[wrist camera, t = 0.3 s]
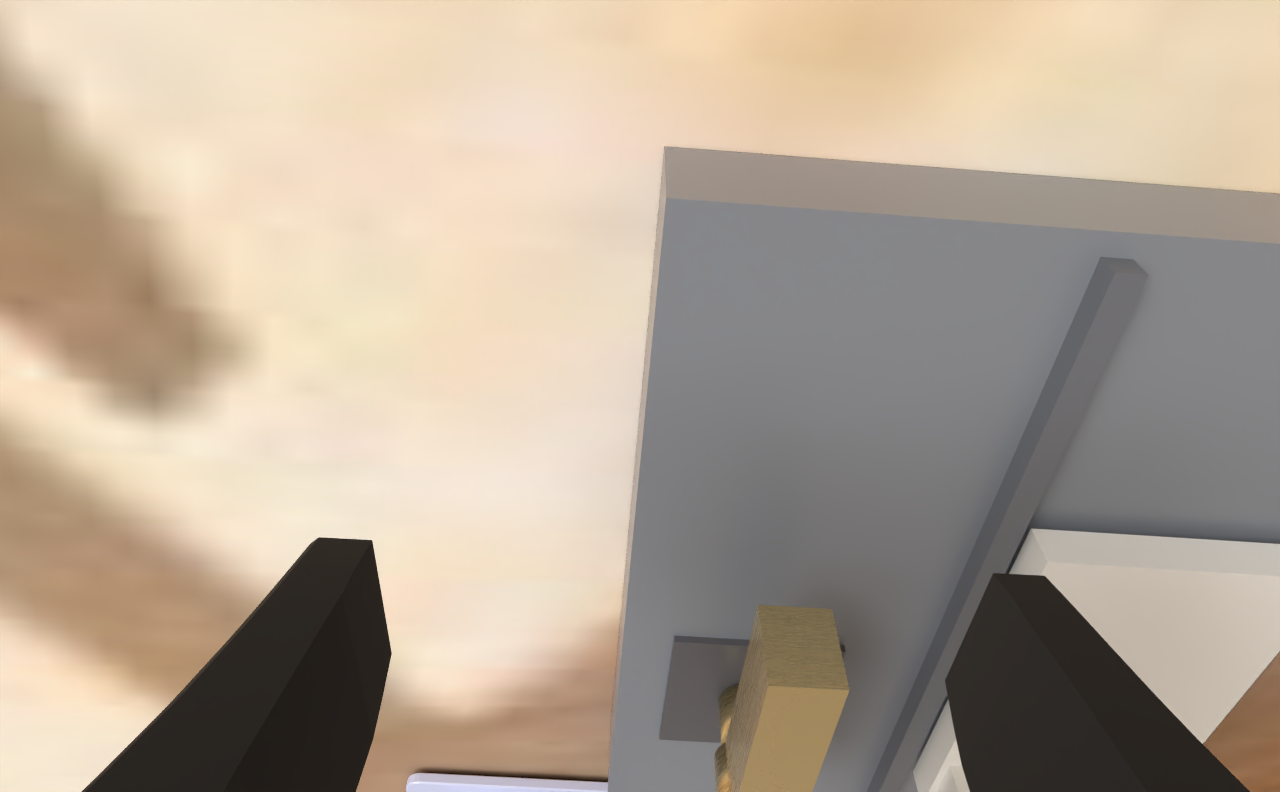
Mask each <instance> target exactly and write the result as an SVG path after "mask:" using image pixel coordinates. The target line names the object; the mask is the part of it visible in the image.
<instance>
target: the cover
mask: <svg viewBox="0 0 1280 792" xmlns="http://www.w3.org/2000/svg"><path fill="white" fill-rule="evenodd" d="M1009 574H1022V575H1041V576H1045V577H1046V578H1047V579H1048V580H1049V581H1050V582H1051V583H1052V584H1053V585H1054V586H1055V587H1056V588H1057V589H1058V590H1059V591H1060V592H1061V593H1062V594H1063V595H1064V596H1065V597H1066V599H1067V600H1068V601H1069V602H1070V603H1071V604H1072V605H1073V606H1074V607H1075V608H1076V609H1077V610H1078V612H1079V613H1080V614H1081V615H1082V616H1083V617H1084V618H1085V619H1086V620H1087V621H1088V622H1089V623H1090V625H1091V626H1092V627H1093V628H1094V629H1095V630H1096V631H1097V632H1098V633H1099V634H1100V635H1101V637H1102V638H1103V639H1104V640H1105V641H1106V642H1107V643H1108V644H1109V645H1110V646H1111V647H1112V649H1113V650H1114V651H1115V652H1116V653H1117V654H1118V655H1119V656H1120V657H1121V658H1122V659H1123V660H1124V662H1125V663H1126V664H1127V665H1128V666H1129V667H1130V668H1131V669H1132V670H1133V671H1134V672H1135V673H1136V675H1137V676H1138V677H1139V678H1140V679H1141V680H1142V681H1143V682H1144V683H1145V684H1146V685H1147V686H1148V687H1149V689H1150V690H1151V691H1152V692H1153V693H1154V694H1155V695H1156V696H1157V697H1158V698H1159V699H1160V700H1161V701H1162V702H1163V703H1164V704H1165V706H1166V707H1167V708H1168V709H1169V710H1170V711H1171V712H1172V713H1173V714H1174V715H1175V716H1176V717H1177V718H1178V719H1179V720H1180V721H1181V722H1182V723H1183V724H1184V725H1185V726H1186V728H1187V729H1188V730H1189V731H1190V732H1191V733H1192V734H1193V735H1194V736H1195V737H1196V738H1197V739H1198V740H1199V741H1200V742H1201V743H1202V744H1203V743H1204V742H1205V741H1206V740H1207V738H1208V737H1209V736H1210V735H1211V734H1212V732H1213V731H1214V730H1215V729H1216V727H1217V726H1218V725H1219V724H1220V723H1221V721H1222V720H1223V719H1224V718H1225V717H1226V715H1227V714H1228V713H1229V712H1230V711H1231V709H1232V708H1233V707H1234V706H1235V705H1236V703H1237V702H1238V701H1239V700H1240V698H1241V697H1242V696H1243V695H1244V694H1245V692H1246V691H1247V690H1248V689H1249V688H1250V686H1251V685H1252V684H1253V683H1254V682H1255V680H1256V679H1257V678H1258V677H1259V676H1260V674H1261V673H1262V672H1263V671H1264V669H1265V668H1266V667H1267V666H1268V665H1269V663H1270V662H1271V661H1272V660H1273V659H1274V657H1275V656H1276V655H1277V654H1278V653H1279V651H1280V544H1272V543H1256V542H1240V541H1224V540H1208V539H1192V538H1176V537H1160V536H1144V535H1128V534H1112V533H1096V532H1080V531H1064V530H1048V529H1032V528H1031V529H1030V532H1029V534H1028V536H1027V538H1026V540H1025V542H1024V544H1023V546H1022V548H1021V550H1020V552H1019V554H1018V556H1017V558H1016V560H1015V562H1014V564H1013V567H1012V569H1011V571H1010V573H1009ZM913 775H914V779H915V782H916V786H917V790H918V792H970V790H969V787H968V784H967V781H966V778H965V774H964V771H963V768H962V764H961V759H960V755H959V750H958V745H957V741H956V736H955V732H954V727H953V721H952V716H951V711H950V705H949V700H947V702H946V705H945V707H944V709H943V711H942V713H941V715H940V717H939V719H938V721H937V723H936V725H935V727H934V729H933V731H932V733H931V735H930V737H929V740H928V742H927V744H926V746H925V748H924V750H923V752H922V754H921V756H920V758H919V760H918V762H917V764H916V766H915V768H914V770H913Z"/></svg>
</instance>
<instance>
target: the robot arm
mask: <svg viewBox="0 0 1280 792" xmlns="http://www.w3.org/2000/svg"><path fill="white" fill-rule="evenodd" d="M390 658H391V648H390V642H389V636H388V630H387V624H386V619H385V613H384V607H383V601H382V595H381V589H380V584H379V578H378V572H377V566H376V560H375V554H374V549H373V543H372V540H357V539H338V538H317V539H316V540H315V541H314V542H312V543H311V544H310V545H309V546H308V547H307V549H306V550H305V551H304V552H303V553H302V555H301V556H300V557H299V558H298V559H297V561H296V562H295V563H294V564H293V565H292V567H291V568H290V569H289V570H288V571H287V573H286V574H285V575H284V576H283V577H282V578H281V580H280V581H279V582H278V583H277V584H276V586H275V587H274V588H273V589H272V590H271V592H270V593H269V594H268V595H267V596H266V597H265V599H264V600H263V601H262V602H261V603H260V604H259V606H258V607H257V608H256V609H255V610H254V611H253V612H252V614H251V615H250V616H249V617H248V618H247V619H246V620H245V622H244V623H243V624H242V625H241V626H240V627H239V628H238V630H237V631H236V632H235V633H234V634H233V635H232V636H231V638H230V639H229V640H228V641H227V642H226V643H225V644H224V645H223V646H222V648H221V649H220V650H219V651H218V652H217V653H216V654H215V655H214V656H213V657H212V658H211V659H210V661H209V662H208V663H207V664H206V665H205V666H204V667H203V668H202V669H201V670H200V671H199V673H198V674H197V675H196V676H195V677H194V678H193V679H192V680H191V681H190V682H189V683H188V685H187V686H186V687H185V688H184V689H183V690H182V691H181V692H180V693H179V694H178V695H177V697H176V698H175V699H174V700H173V701H172V702H171V703H170V704H169V705H168V706H167V707H166V708H165V709H164V710H163V711H162V712H161V713H160V714H159V715H158V716H157V717H156V718H155V719H154V720H153V721H152V722H151V723H150V724H149V725H148V726H147V727H146V728H145V729H144V730H143V731H142V732H141V733H140V734H139V735H138V736H137V737H136V738H135V739H134V740H133V741H132V742H131V743H130V744H129V745H128V746H127V747H126V748H125V749H124V750H123V751H122V752H121V753H120V754H119V755H118V756H117V757H116V758H115V759H114V760H113V761H112V762H111V763H110V764H109V765H108V766H107V767H106V768H105V769H104V770H103V771H102V772H101V773H100V774H99V775H98V776H97V777H96V778H95V779H94V780H93V781H92V782H91V783H90V784H89V785H88V786H87V787H86V788H85V789H84V790H83V791H82V792H356V789H357V786H358V783H359V780H360V777H361V774H362V771H363V768H364V765H365V762H366V759H367V756H368V753H369V750H370V747H371V744H372V740H373V737H374V732H375V728H376V723H377V719H378V715H379V710H380V706H381V701H382V697H383V692H384V687H385V682H386V677H387V673H388V668H389V663H390ZM945 684H946V689H947V695H948V700H949V705H950V711H951V716H952V721H953V727H954V732H955V736H956V741H957V745H958V750H959V755H960V759H961V764H962V768H963V771H964V774H965V778H966V781H967V784H968V787H969V790H970V792H1250V791H1249V790H1248V789H1247V788H1246V787H1245V786H1244V785H1243V784H1242V783H1241V782H1240V781H1239V780H1238V779H1237V778H1236V777H1235V776H1234V775H1233V774H1232V773H1231V772H1230V771H1229V770H1228V769H1227V768H1226V767H1225V766H1224V765H1223V764H1222V763H1221V762H1220V761H1219V760H1218V759H1217V758H1216V757H1215V756H1214V755H1213V754H1212V753H1211V752H1210V751H1209V750H1208V749H1207V748H1206V747H1205V746H1204V745H1203V744H1202V743H1201V742H1200V741H1199V740H1198V739H1197V738H1196V737H1195V736H1194V735H1193V734H1192V733H1191V732H1190V731H1189V730H1188V729H1187V728H1186V726H1185V725H1184V724H1183V723H1182V722H1181V721H1180V720H1179V719H1178V718H1177V717H1176V716H1175V715H1174V714H1173V713H1172V712H1171V711H1170V710H1169V709H1168V708H1167V707H1166V706H1165V704H1164V703H1163V702H1162V701H1161V700H1160V699H1159V698H1158V697H1157V696H1156V695H1155V694H1154V693H1153V692H1152V691H1151V690H1150V689H1149V687H1148V686H1147V685H1146V684H1145V683H1144V682H1143V681H1142V680H1141V679H1140V678H1139V677H1138V676H1137V675H1136V673H1135V672H1134V671H1133V670H1132V669H1131V668H1130V667H1129V666H1128V665H1127V664H1126V663H1125V662H1124V660H1123V659H1122V658H1121V657H1120V656H1119V655H1118V654H1117V653H1116V652H1115V651H1114V650H1113V649H1112V647H1111V646H1110V645H1109V644H1108V643H1107V642H1106V641H1105V640H1104V639H1103V638H1102V637H1101V635H1100V634H1099V633H1098V632H1097V631H1096V630H1095V629H1094V628H1093V627H1092V626H1091V625H1090V623H1089V622H1088V621H1087V620H1086V619H1085V618H1084V617H1083V616H1082V615H1081V614H1080V613H1079V612H1078V610H1077V609H1076V608H1075V607H1074V606H1073V605H1072V604H1071V603H1070V602H1069V601H1068V600H1067V599H1066V597H1065V596H1064V595H1063V594H1062V593H1061V592H1060V591H1059V590H1058V589H1057V588H1056V587H1055V586H1054V585H1053V584H1052V583H1051V582H1050V581H1049V580H1048V579H1047V578H1046V577H1045V576H1041V575H1022V574H1003V573H993V574H992V577H991V579H990V581H989V583H988V586H987V588H986V590H985V592H984V594H983V597H982V599H981V601H980V603H979V606H978V608H977V610H976V612H975V615H974V617H973V619H972V621H971V623H970V626H969V628H968V630H967V632H966V635H965V637H964V639H963V641H962V644H961V646H960V648H959V650H958V652H957V655H956V657H955V659H954V661H953V664H952V666H951V668H950V670H949V672H948V675H947V677H946V679H945ZM406 792H608V782H593V781H574V780H554V779H535V778H515V777H495V776H476V775H456V774H437V773H415V774H412V775H411V776H409V777H408V781H407V786H406Z"/></svg>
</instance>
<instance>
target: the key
mask: <svg viewBox="0 0 1280 792" xmlns="http://www.w3.org/2000/svg"><path fill="white" fill-rule="evenodd" d="M848 693H849V686H848V681H847V676H846V672H845V667H844V662H843V658H842V653H841V648H840V644H839V639H838V634H837V630H836V625H835V620H834V616H833V611H832V609H823V608H806V607H789V606H772V605H758V606H757V611H756V615H755V619H754V623H753V627H752V632H751V636H750V640H749V644H748V649H747V653H746V657H745V661H744V666H743V670H742V674H741V678H740V682H739V685H735V686H732V687H730V688H728V689H726V690H725V691H724V692H723V693H722V694H721V695H720V697H719V699H718V708H719V722H720V736H721V745H720V746H719V747H718V749H717V750H716V752H715V755H714V764H715V780H716V792H812V791H813V789H814V786H815V783H816V780H817V778H818V775H819V772H820V769H821V767H822V764H823V761H824V759H825V756H826V753H827V750H828V748H829V745H830V742H831V739H832V737H833V734H834V731H835V728H836V726H837V723H838V720H839V718H840V715H841V712H842V709H843V707H844V704H845V701H846V698H847V696H848Z"/></svg>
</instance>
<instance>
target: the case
mask: <svg viewBox="0 0 1280 792" xmlns="http://www.w3.org/2000/svg"><path fill="white" fill-rule="evenodd" d="M1031 528H1032V529H1048V530H1064V531H1080V532H1096V533H1112V534H1128V535H1144V536H1160V537H1176V538H1192V539H1208V540H1224V541H1240V542H1256V543H1272V544H1280V194H1275V193H1262V192H1249V191H1236V190H1223V189H1210V188H1197V187H1184V186H1171V185H1158V184H1145V183H1132V182H1119V181H1106V180H1093V179H1080V178H1067V177H1054V176H1041V175H1028V174H1015V173H1002V172H989V171H976V170H963V169H950V168H937V167H924V166H911V165H898V164H885V163H872V162H859V161H846V160H833V159H820V158H807V157H794V156H781V155H768V154H755V153H742V152H729V151H716V150H703V149H690V148H677V147H664V157H663V168H662V179H661V190H660V200H659V211H658V222H657V232H656V243H655V254H654V265H653V275H652V286H651V297H650V308H649V318H648V329H647V340H646V350H645V361H644V372H643V383H642V393H641V404H640V415H639V426H638V436H637V447H636V458H635V468H634V479H633V490H632V501H631V511H630V522H629V533H628V544H627V554H626V565H625V576H624V586H623V597H622V608H621V619H620V629H619V640H618V651H617V662H616V672H615V683H614V694H613V704H612V715H611V726H610V746H609V769H608V792H716V780H715V764H714V755H715V752H716V750H717V749H718V747H719V746H720V745H721V736H720V722H719V708H718V699H719V697H720V695H721V694H722V693H723V692H724V691H725V690H726V689H728V688H730V687H732V686H735V685H739V682H740V678H741V674H742V670H743V666H744V661H745V657H746V653H747V649H748V644H749V640H750V636H751V632H752V627H753V623H754V619H755V615H756V611H757V606H758V605H772V606H789V607H806V608H823V609H832V611H833V616H834V620H835V625H836V630H837V634H838V639H839V644H840V648H841V653H842V658H843V662H844V667H845V672H846V676H847V681H848V686H849V693H848V696H847V698H846V701H845V704H844V707H843V709H842V712H841V715H840V718H839V720H838V723H837V726H836V728H835V731H834V734H833V737H832V739H831V742H830V745H829V748H828V750H827V753H826V756H825V759H824V761H823V764H822V767H821V769H820V772H819V775H818V778H817V780H816V783H815V786H814V789H813V791H812V792H918V790H917V786H916V782H915V779H914V775H913V770H914V768H915V766H916V764H917V762H918V760H919V758H920V756H921V754H922V752H923V750H924V748H925V746H926V744H927V742H928V740H929V737H930V735H931V733H932V731H933V729H934V727H935V725H936V723H937V721H938V719H939V717H940V715H941V713H942V711H943V709H944V707H945V705H946V702H947V700H948V695H947V689H946V684H945V679H946V677H947V675H948V672H949V670H950V668H951V666H952V664H953V661H954V659H955V657H956V655H957V652H958V650H959V648H960V646H961V644H962V641H963V639H964V637H965V635H966V632H967V630H968V628H969V626H970V623H971V621H972V619H973V617H974V615H975V612H976V610H977V608H978V606H979V603H980V601H981V599H982V597H983V594H984V592H985V590H986V588H987V586H988V583H989V581H990V579H991V577H992V574H993V573H1003V574H1009V573H1010V571H1011V569H1012V567H1013V564H1014V562H1015V560H1016V558H1017V556H1018V554H1019V552H1020V550H1021V548H1022V546H1023V544H1024V542H1025V540H1026V538H1027V536H1028V534H1029V532H1030V529H1031ZM1279 652H1280V651H1279ZM1277 655H1278V654H1277ZM1277 655H1276V656H1277ZM1276 656H1275V657H1276ZM1275 657H1274V658H1275ZM1272 661H1273V660H1272ZM1272 661H1271V662H1272ZM1271 662H1270V663H1271ZM1270 663H1269V664H1270ZM1268 666H1269V665H1268ZM1268 666H1267V667H1268ZM1267 667H1266V668H1267ZM1266 668H1265V669H1266ZM1265 669H1264V670H1265ZM1263 672H1264V671H1263ZM1263 672H1262V673H1263ZM1262 673H1261V674H1262ZM1261 674H1260V675H1261ZM1258 678H1259V677H1258ZM1258 678H1257V679H1258ZM1257 679H1256V680H1257ZM1256 680H1255V681H1256ZM1253 684H1254V683H1253ZM1253 684H1252V685H1253ZM1252 685H1251V686H1252ZM1251 686H1250V687H1251ZM1248 690H1249V689H1248ZM1248 690H1247V691H1248ZM1247 691H1246V692H1247ZM1246 692H1245V693H1246ZM1244 695H1245V694H1244ZM1244 695H1243V696H1244ZM1243 696H1242V697H1243ZM1242 697H1241V698H1242ZM1241 698H1240V699H1241ZM1239 701H1240V700H1239ZM1239 701H1238V702H1239ZM1238 702H1237V703H1238ZM1237 703H1236V704H1237ZM1234 707H1235V706H1234ZM1234 707H1233V708H1234ZM1233 708H1232V709H1233ZM1232 709H1231V710H1232ZM1229 713H1230V712H1229ZM1229 713H1228V714H1229ZM1228 714H1227V715H1228ZM1227 715H1226V716H1227ZM1224 719H1225V718H1224ZM1224 719H1223V720H1224ZM1223 720H1222V721H1223ZM1222 721H1221V722H1222ZM1219 725H1220V724H1219ZM1219 725H1218V726H1219ZM1218 726H1217V727H1218ZM1217 727H1216V728H1217ZM1215 730H1216V729H1215ZM1215 730H1214V731H1215ZM1214 731H1213V732H1214ZM1213 732H1212V733H1213ZM1210 736H1211V735H1210ZM1210 736H1209V737H1210ZM1209 737H1208V738H1209ZM1208 738H1207V739H1208ZM1205 742H1206V741H1205ZM1205 742H1204V743H1205ZM1204 743H1203V744H1204Z"/></svg>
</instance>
